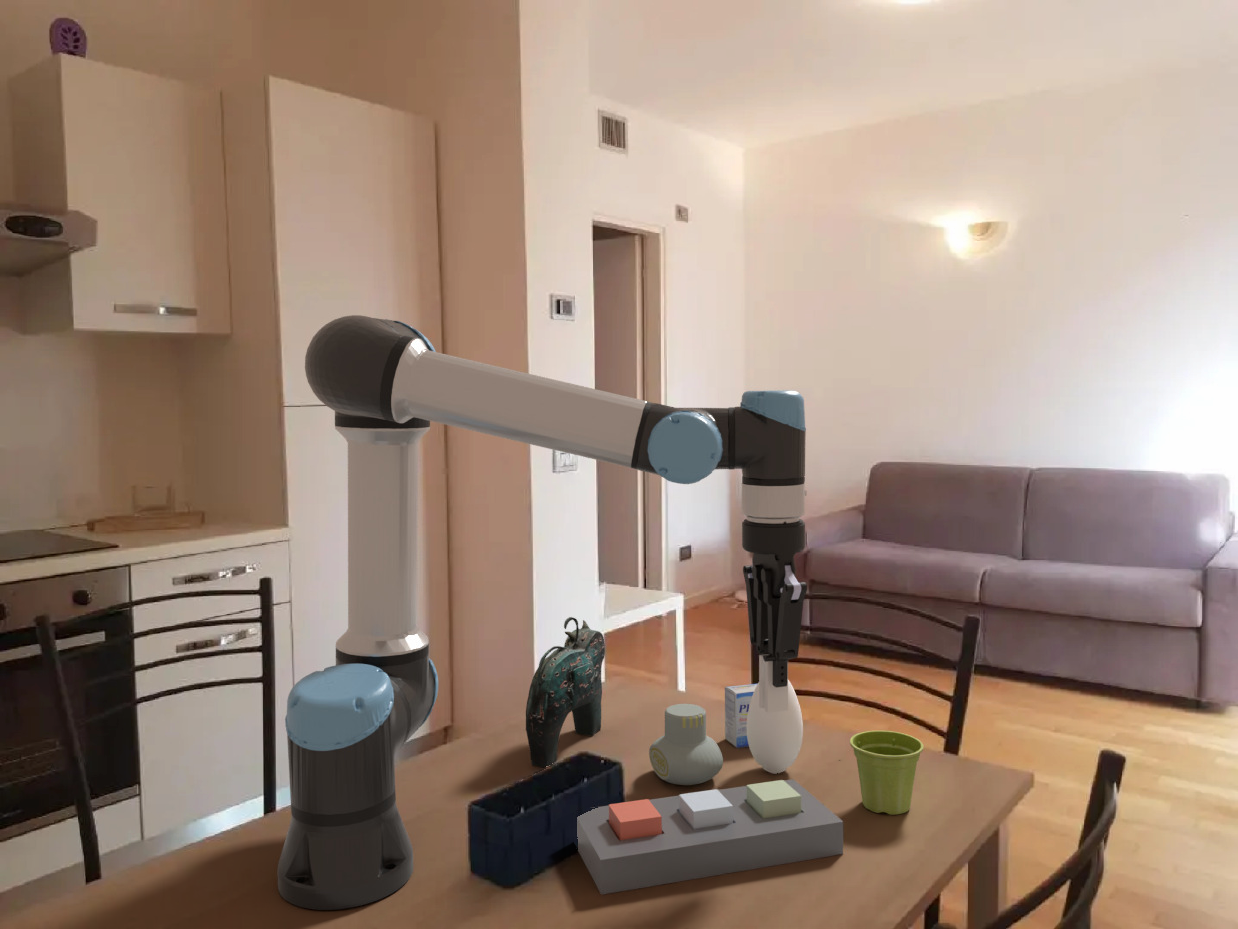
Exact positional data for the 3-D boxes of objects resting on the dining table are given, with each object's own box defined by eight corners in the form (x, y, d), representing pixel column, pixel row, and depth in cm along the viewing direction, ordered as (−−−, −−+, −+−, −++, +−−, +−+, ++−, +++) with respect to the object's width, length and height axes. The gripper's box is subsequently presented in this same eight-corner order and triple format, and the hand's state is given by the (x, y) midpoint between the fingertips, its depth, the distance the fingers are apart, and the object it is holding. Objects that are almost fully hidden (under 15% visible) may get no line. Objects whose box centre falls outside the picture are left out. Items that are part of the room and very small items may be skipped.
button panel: (601, 894, 108) (600, 860, 107) (573, 842, 120) (572, 810, 120) (843, 854, 116) (843, 821, 116) (793, 808, 129) (793, 779, 128)
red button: (620, 847, 112) (620, 822, 112) (609, 828, 117) (608, 804, 117) (661, 841, 114) (661, 816, 113) (648, 822, 118) (648, 799, 118)
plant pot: (834, 800, 131) (835, 737, 130) (887, 785, 135) (888, 725, 135) (883, 827, 123) (883, 761, 122) (938, 811, 127) (939, 747, 126)
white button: (693, 836, 115) (693, 811, 115) (679, 818, 120) (679, 794, 119) (733, 830, 116) (732, 806, 116) (717, 812, 121) (717, 789, 121)
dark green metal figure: (581, 723, 162) (579, 605, 160) (616, 728, 159) (614, 608, 158) (518, 766, 144) (515, 633, 143) (556, 773, 141) (553, 638, 140)
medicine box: (735, 749, 150) (735, 694, 149) (724, 739, 154) (724, 685, 153) (782, 743, 152) (782, 689, 151) (769, 733, 156) (769, 680, 155)
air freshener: (729, 787, 136) (729, 718, 135) (675, 797, 133) (675, 726, 132) (694, 759, 146) (694, 694, 145) (644, 768, 143) (643, 702, 142)
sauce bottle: (736, 770, 141) (735, 649, 140) (772, 756, 146) (771, 639, 145) (777, 787, 135) (777, 660, 134) (813, 772, 140) (813, 650, 139)
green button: (763, 825, 117) (763, 801, 117) (746, 808, 122) (746, 785, 122) (801, 819, 119) (801, 795, 118) (782, 802, 124) (782, 779, 123)
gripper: (829, 524, 112) (828, 724, 114) (776, 509, 125) (776, 688, 127) (770, 528, 110) (770, 731, 112) (722, 512, 123) (723, 694, 125)
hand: (773, 708), depth 119 cm, fingers closed
